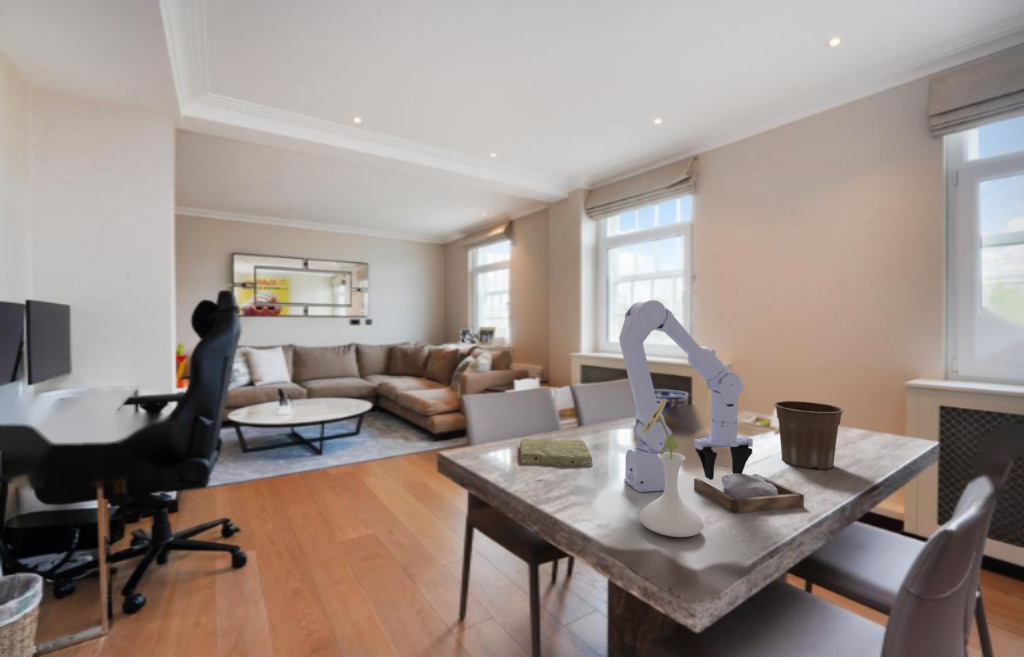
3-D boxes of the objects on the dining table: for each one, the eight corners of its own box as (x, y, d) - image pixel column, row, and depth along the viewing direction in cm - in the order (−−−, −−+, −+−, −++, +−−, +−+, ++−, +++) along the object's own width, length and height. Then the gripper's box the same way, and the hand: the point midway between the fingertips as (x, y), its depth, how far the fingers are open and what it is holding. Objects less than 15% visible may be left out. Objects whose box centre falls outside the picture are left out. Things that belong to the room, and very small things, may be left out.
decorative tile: (519, 448, 139) (519, 437, 139) (584, 449, 139) (584, 438, 139) (519, 467, 121) (519, 454, 121) (594, 468, 120) (594, 455, 120)
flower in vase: (657, 511, 92) (659, 390, 92) (713, 530, 84) (715, 397, 83) (622, 530, 83) (624, 396, 83) (681, 554, 75) (683, 405, 75)
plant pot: (831, 477, 114) (832, 414, 114) (763, 461, 126) (764, 404, 126) (850, 465, 124) (851, 407, 124) (786, 451, 137) (787, 399, 137)
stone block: (734, 513, 96) (784, 507, 95) (730, 490, 96) (779, 484, 95) (718, 494, 108) (762, 488, 106) (714, 474, 108) (757, 468, 107)
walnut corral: (733, 513, 91) (733, 500, 91) (693, 488, 105) (694, 478, 105) (803, 506, 95) (804, 495, 95) (756, 484, 108) (756, 474, 108)
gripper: (707, 425, 102) (706, 485, 102) (762, 423, 105) (761, 481, 105) (689, 419, 109) (688, 474, 109) (741, 417, 112) (740, 471, 112)
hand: (723, 477), depth 107 cm, fingers open, 7 cm apart
